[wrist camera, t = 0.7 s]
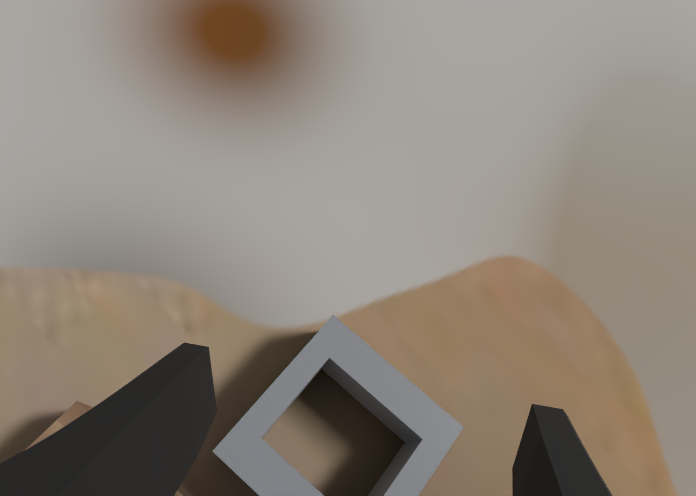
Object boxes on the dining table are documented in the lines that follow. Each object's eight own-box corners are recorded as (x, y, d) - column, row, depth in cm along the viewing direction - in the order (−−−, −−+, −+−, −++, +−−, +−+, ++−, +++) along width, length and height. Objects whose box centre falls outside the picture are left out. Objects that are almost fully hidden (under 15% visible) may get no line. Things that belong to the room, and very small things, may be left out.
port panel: (344, 574, 23) (357, 588, 21) (216, 453, 24) (212, 451, 22) (441, 431, 26) (463, 427, 24) (325, 330, 28) (333, 314, 25)
